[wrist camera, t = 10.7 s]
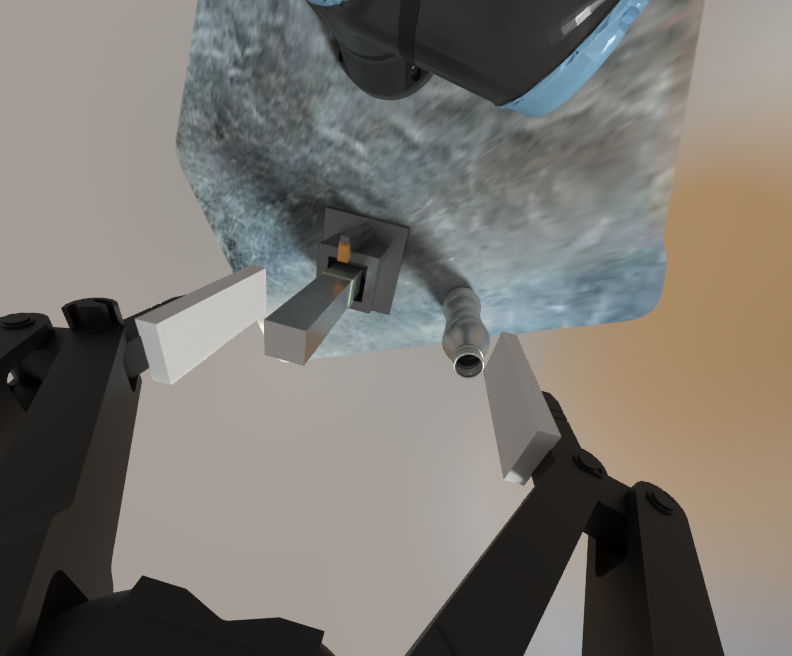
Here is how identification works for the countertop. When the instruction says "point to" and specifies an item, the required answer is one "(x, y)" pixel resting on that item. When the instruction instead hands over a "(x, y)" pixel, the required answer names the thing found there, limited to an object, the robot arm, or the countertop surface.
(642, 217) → the countertop surface
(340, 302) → the column
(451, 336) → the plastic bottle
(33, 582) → the robot arm
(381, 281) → the stand
